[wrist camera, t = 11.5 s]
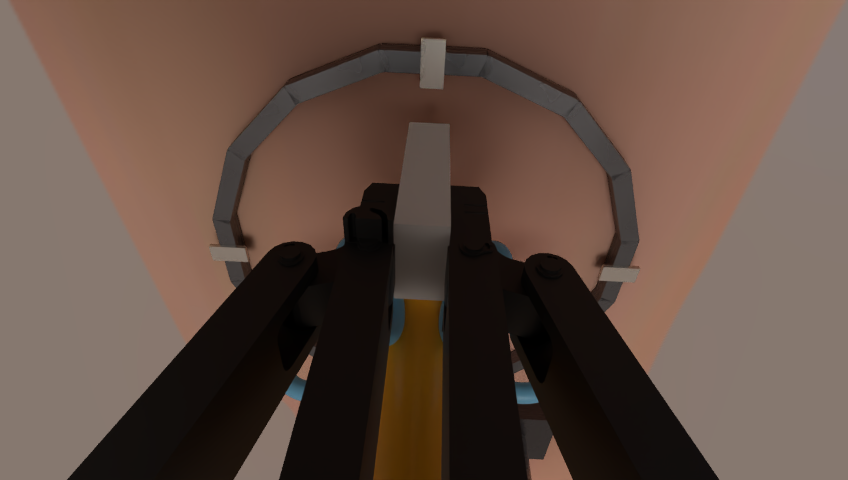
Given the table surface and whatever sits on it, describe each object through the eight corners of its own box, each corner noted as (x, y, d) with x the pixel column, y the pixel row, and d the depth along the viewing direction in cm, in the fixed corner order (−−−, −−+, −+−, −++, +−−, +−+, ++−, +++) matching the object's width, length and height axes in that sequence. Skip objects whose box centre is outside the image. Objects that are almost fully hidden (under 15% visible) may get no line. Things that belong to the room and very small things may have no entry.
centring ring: (153, 18, 18) (138, 24, 17) (717, 45, 17) (731, 53, 17) (257, 368, 31) (251, 381, 30) (580, 386, 31) (584, 400, 30)
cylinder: (449, 352, 29) (452, 679, 17) (291, 288, 26) (161, 626, 14) (583, 213, 22) (741, 590, 10) (391, 106, 19) (304, 459, 8)
